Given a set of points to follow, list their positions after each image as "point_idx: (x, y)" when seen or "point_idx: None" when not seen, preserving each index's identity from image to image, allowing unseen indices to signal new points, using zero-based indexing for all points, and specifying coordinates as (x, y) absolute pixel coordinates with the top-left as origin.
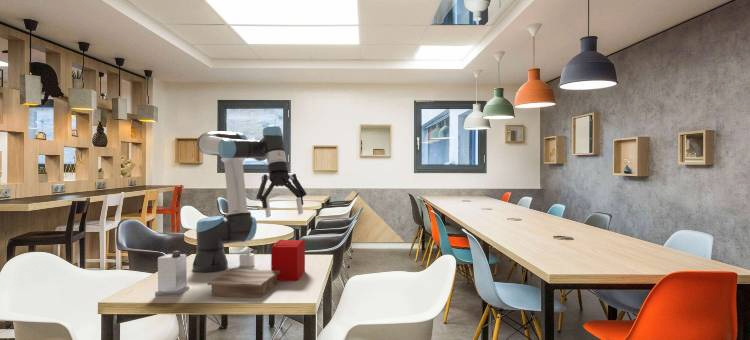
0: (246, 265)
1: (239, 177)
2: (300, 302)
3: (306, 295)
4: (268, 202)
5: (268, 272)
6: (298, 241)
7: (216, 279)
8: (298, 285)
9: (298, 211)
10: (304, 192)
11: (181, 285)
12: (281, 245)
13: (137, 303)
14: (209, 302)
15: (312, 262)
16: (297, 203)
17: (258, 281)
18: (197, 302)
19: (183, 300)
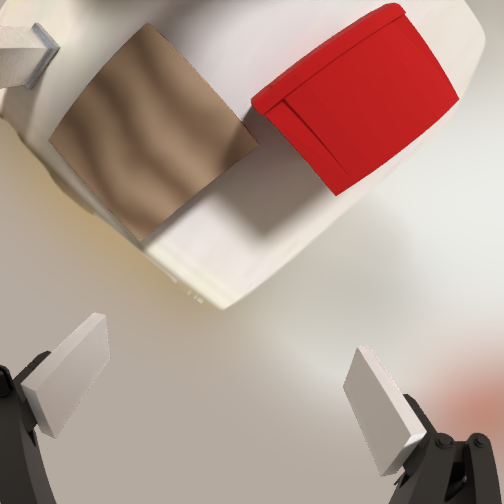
0: None
1: None
2: (207, 297)
3: (243, 274)
4: (64, 417)
5: (214, 139)
6: (402, 132)
7: (68, 120)
8: (282, 197)
9: (362, 366)
10: (451, 487)
11: (33, 66)
12: (301, 119)
13: None
14: (63, 176)
15: (467, 43)
16: (385, 413)
17: (144, 213)
18: (48, 161)
19: (33, 131)
